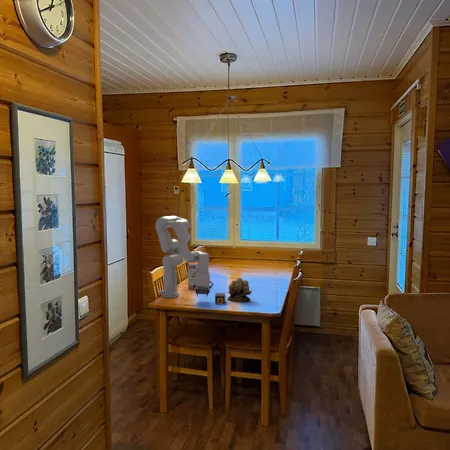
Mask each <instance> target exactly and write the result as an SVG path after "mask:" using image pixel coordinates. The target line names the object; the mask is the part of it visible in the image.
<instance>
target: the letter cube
mask: <svg viewBox="0 0 450 450" xmlns="http://www.w3.org/2000/svg"><path fill="white" fill-rule="evenodd" d="M216 304H220V305H221V304H224V301H223V297H217V301H216Z"/></svg>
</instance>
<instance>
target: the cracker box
mask: <svg viewBox="0 0 450 450" xmlns="http://www.w3.org/2000/svg"><path fill="white" fill-rule="evenodd" d="M196 268H198V262H192V263H189V262H187V288H188V290H196V289H195V288H194V287H193V285H192V284H191V283H192V282H193V281H195V280H196V273H197V270H196ZM194 285H195V283H194ZM195 286H196V285H195Z"/></svg>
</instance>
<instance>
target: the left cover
mask: <svg viewBox="0 0 450 450" xmlns="http://www.w3.org/2000/svg"><path fill="white" fill-rule="evenodd" d="M207 289H208V288H207V286H198V287H197V295H196V297H197V298H198V297H199V295H206V296H205V297H206V298H207V297H208V295H207Z"/></svg>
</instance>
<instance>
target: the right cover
mask: <svg viewBox="0 0 450 450" xmlns="http://www.w3.org/2000/svg"><path fill="white" fill-rule="evenodd" d="M217 297H223V304H224V305H225V304H226V293H225V292H215V294H214V305H216V304H217Z"/></svg>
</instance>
